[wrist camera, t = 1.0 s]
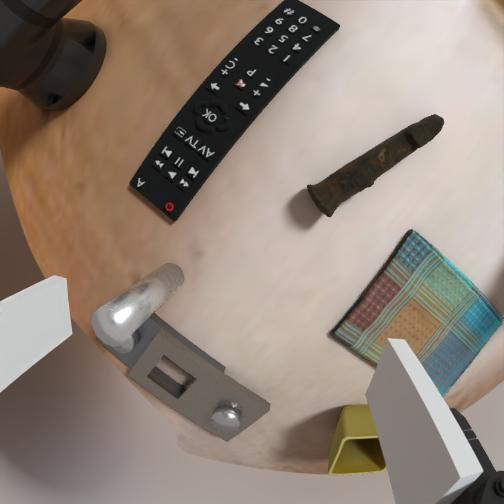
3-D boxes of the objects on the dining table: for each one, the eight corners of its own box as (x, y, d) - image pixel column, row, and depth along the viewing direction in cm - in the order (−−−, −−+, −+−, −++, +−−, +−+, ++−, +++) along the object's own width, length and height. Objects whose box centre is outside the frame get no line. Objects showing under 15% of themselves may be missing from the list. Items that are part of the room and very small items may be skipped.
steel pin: (153, 277, 37) (86, 327, 22) (167, 257, 36) (100, 299, 21) (174, 295, 37) (116, 353, 22) (189, 275, 36) (132, 328, 21)
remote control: (133, 185, 35) (125, 185, 33) (289, 1, 27) (289, -7, 25) (177, 221, 35) (171, 223, 33) (338, 30, 28) (340, 23, 26)
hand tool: (322, 217, 33) (328, 221, 28) (303, 187, 32) (306, 186, 28) (443, 141, 29) (461, 137, 25) (427, 113, 29) (444, 105, 24)
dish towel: (431, 397, 37) (436, 406, 34) (327, 333, 36) (329, 342, 34) (499, 314, 33) (507, 320, 30) (409, 223, 32) (417, 226, 30)
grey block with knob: (136, 364, 40) (123, 380, 36) (166, 322, 38) (153, 338, 33) (230, 429, 41) (225, 448, 37) (270, 397, 39) (268, 417, 34)
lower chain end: (101, 334, 40) (89, 345, 36) (127, 289, 38) (114, 298, 34) (188, 403, 41) (182, 417, 37) (225, 367, 38) (220, 381, 35)
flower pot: (335, 394, 37) (343, 438, 29) (390, 393, 37) (407, 433, 28) (323, 433, 39) (327, 475, 31) (374, 432, 39) (384, 472, 30)
